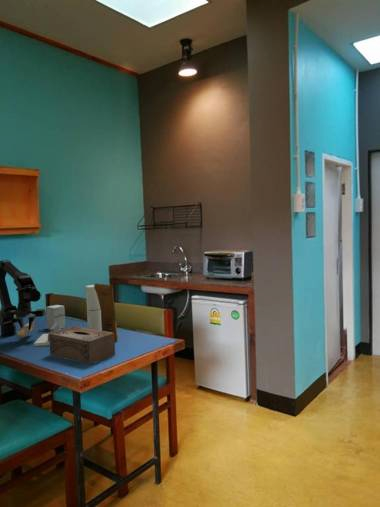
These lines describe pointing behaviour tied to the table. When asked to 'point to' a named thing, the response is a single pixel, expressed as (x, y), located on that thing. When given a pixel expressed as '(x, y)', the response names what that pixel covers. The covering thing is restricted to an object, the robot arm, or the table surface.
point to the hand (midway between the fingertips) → (26, 330)
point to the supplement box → (55, 316)
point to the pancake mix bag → (107, 308)
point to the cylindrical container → (93, 309)
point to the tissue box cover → (82, 344)
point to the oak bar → (25, 330)
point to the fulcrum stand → (47, 336)
